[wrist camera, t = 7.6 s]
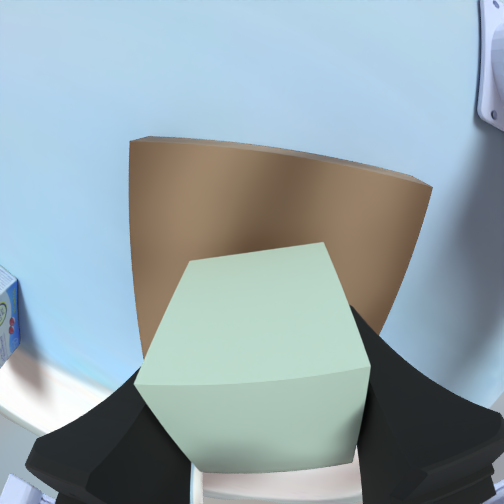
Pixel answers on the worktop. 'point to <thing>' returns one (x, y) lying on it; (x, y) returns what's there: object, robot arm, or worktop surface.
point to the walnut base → (266, 217)
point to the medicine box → (8, 315)
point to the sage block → (259, 364)
